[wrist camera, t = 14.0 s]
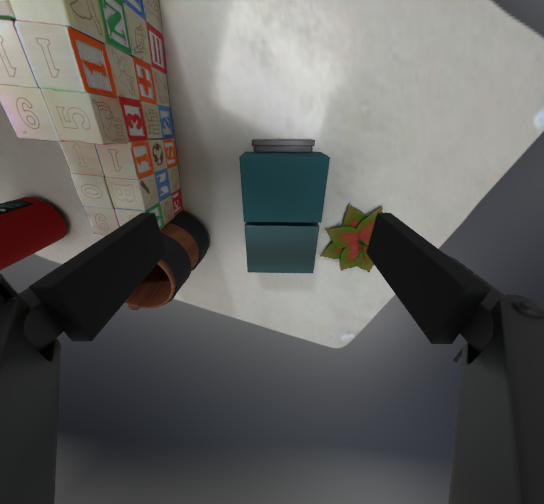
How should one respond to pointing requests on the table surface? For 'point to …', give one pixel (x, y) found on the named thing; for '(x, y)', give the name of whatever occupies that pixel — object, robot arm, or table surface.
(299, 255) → the teal lidded box
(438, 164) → the table surface
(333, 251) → the lily flower
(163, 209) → the stack of blocks
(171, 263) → the mug
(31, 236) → the beverage can
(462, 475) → the robot arm
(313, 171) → the block
